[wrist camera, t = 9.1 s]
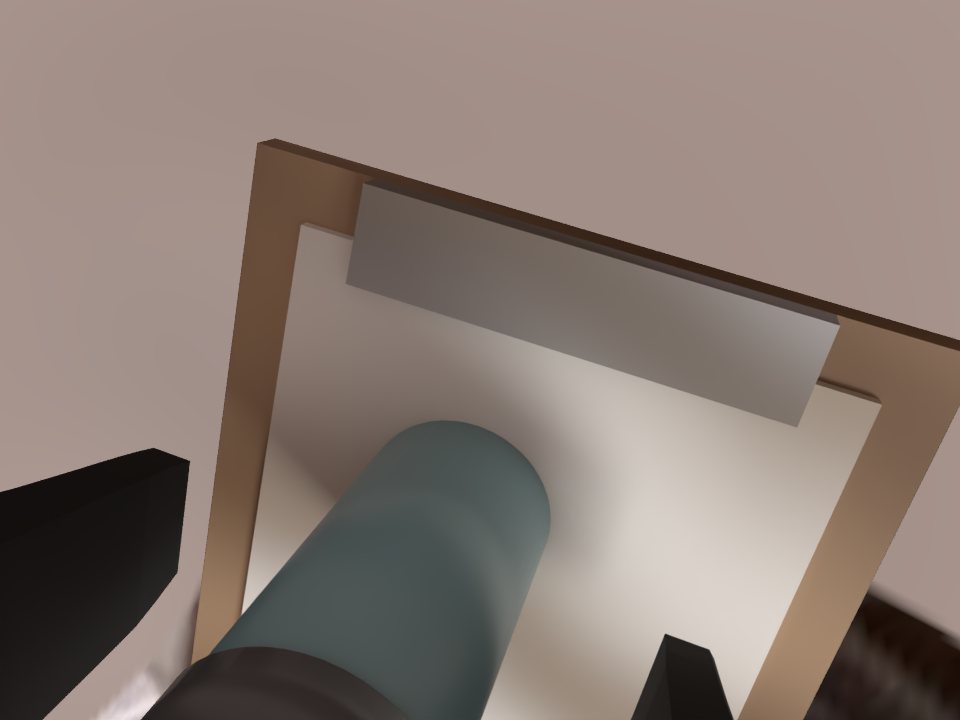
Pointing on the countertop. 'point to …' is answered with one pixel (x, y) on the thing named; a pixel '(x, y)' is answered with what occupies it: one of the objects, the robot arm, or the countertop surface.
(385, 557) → the tumbler
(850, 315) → the clipboard
